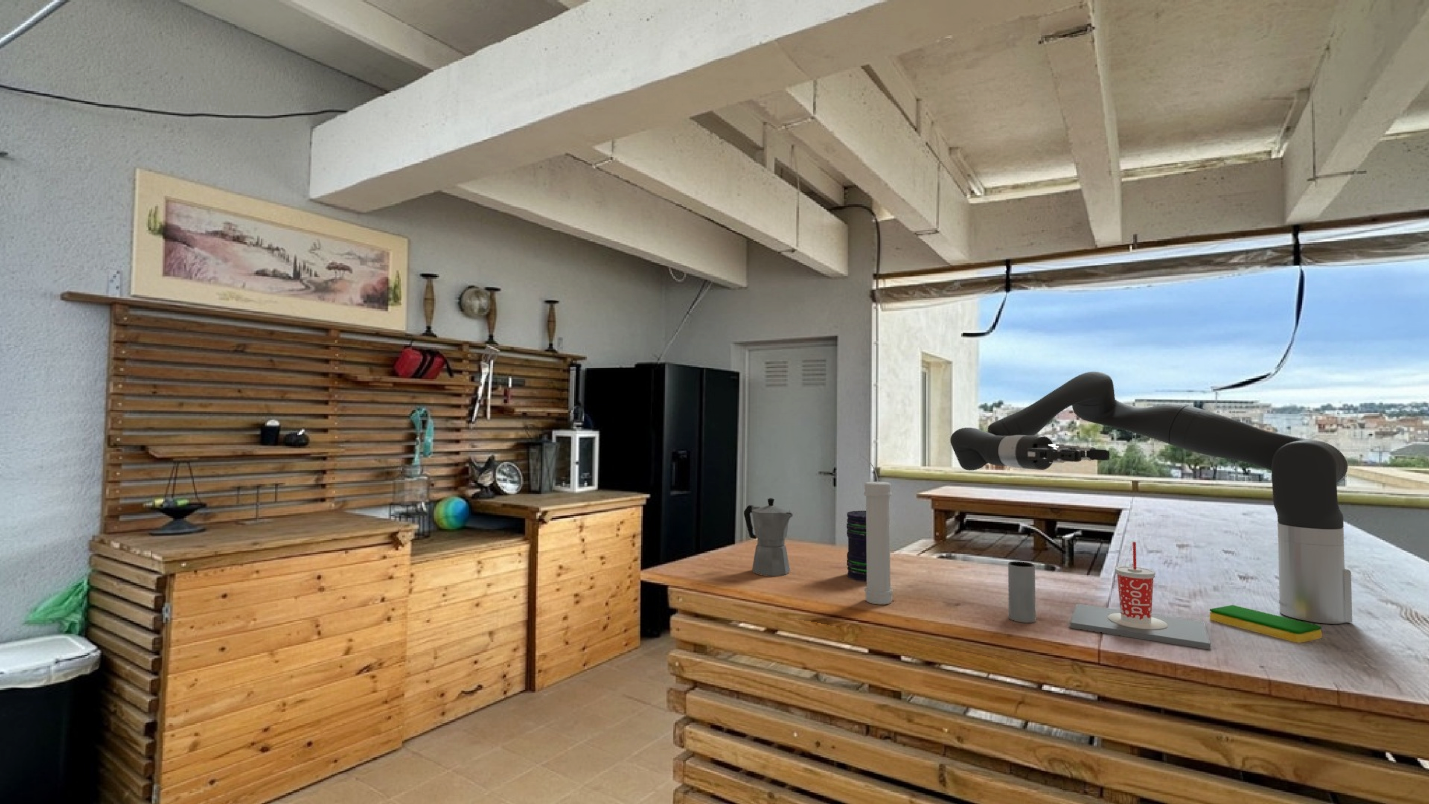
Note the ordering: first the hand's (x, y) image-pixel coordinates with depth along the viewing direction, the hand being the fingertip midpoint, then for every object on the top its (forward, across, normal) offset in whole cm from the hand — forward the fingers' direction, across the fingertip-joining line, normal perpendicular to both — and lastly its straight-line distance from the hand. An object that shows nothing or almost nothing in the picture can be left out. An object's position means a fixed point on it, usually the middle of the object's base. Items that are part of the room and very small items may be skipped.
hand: (1094, 455), depth 131 cm
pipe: (-21, -38, +30) cm, 53 cm away
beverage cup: (+12, -6, +29) cm, 32 cm away
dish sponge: (+22, +14, +31) cm, 40 cm away
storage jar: (-38, -27, +30) cm, 56 cm away
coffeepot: (-53, -45, +30) cm, 76 cm away
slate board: (+12, -6, +30) cm, 33 cm away
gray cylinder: (0, -21, +30) cm, 37 cm away
